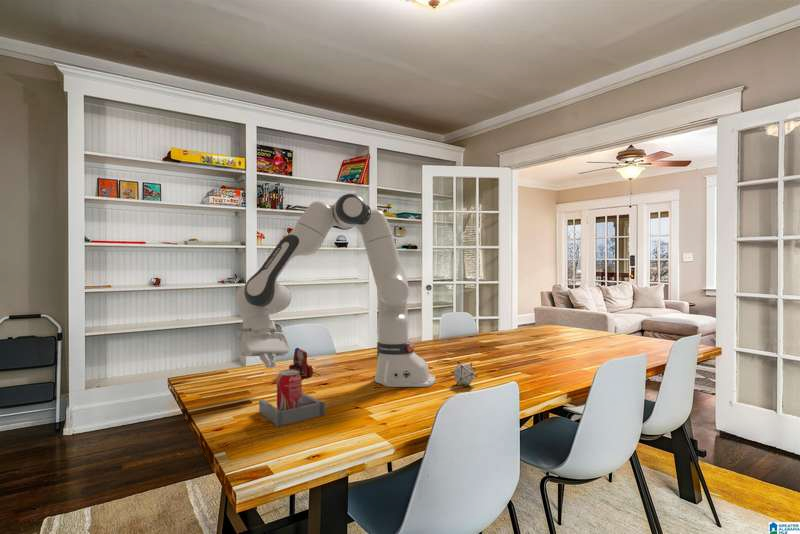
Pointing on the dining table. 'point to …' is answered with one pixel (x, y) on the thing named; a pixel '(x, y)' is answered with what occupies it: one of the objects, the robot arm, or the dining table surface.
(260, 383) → the dining table surface
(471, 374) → the game die
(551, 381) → the dining table surface
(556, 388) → the dining table surface
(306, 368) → the toy fire truck
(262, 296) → the robot arm
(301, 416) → the corral
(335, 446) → the dining table surface
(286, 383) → the soda can
